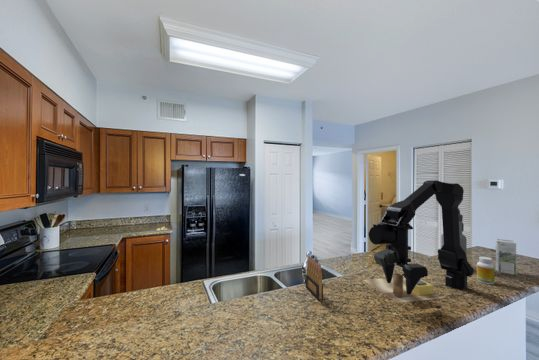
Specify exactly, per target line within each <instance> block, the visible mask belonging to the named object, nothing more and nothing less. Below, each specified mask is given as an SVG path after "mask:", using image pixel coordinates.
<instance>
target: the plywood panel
mask: <svg viewBox="0 0 539 360" xmlns="http://www.w3.org/2000/svg"><path fill="white" fill-rule="evenodd" d="M363 282H365V283H367V284H368V285H369V286H371V287H373V288H374V289H375V290H377V291H379V292H380V293H381V294H383V295H385V296H387V297H388V298H389V299H391V300H392V301H394V302H395V303H397V304H401V303H411V302H413V303H414V302H421V301H431V300H440V299H444V297H443V296H442V295H441V296H440V295H439V294H437V293H435V292H433V294H428V295H417V294H415V293H413V292H411V294H407V291H406V278H405V277H403V295H402V297H396V296H394V293H393V277H392V280H391V283H388V282H387V280H386V277H385V278H374V279H372V278H371V279H369V278H368V279H363Z"/></svg>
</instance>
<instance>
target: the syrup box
mask: <svg viewBox="0 0 539 360" xmlns="http://www.w3.org/2000/svg"><path fill="white" fill-rule="evenodd" d="M495 270H496V271H497V272H498V273H499V274H505V275H511V276H517V243H516V242H515V241H514V240H510V239H501V238H496V239H495Z"/></svg>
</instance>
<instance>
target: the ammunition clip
mask: <svg viewBox="0 0 539 360" xmlns="http://www.w3.org/2000/svg"><path fill="white" fill-rule="evenodd" d="M306 266H307V267H306V274H305V289H307V291H308V292H309V293H311V295H312V296H313V297H314V298H315V299H316V300H317V301H323V300H324V284H323V274H322V264H321V263H319V262H318V261H317V260H315V259H314V258H313V257H311V256H310V255H308V258H307V265H306Z"/></svg>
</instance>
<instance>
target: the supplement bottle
mask: <svg viewBox="0 0 539 360" xmlns="http://www.w3.org/2000/svg"><path fill="white" fill-rule="evenodd" d="M495 270H496V267H495V264H493V258H491V257H487V256H478V262H477V263H476V280H477V282H479V283H482V284H484V285H494V284H495V272H496V271H495Z"/></svg>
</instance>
